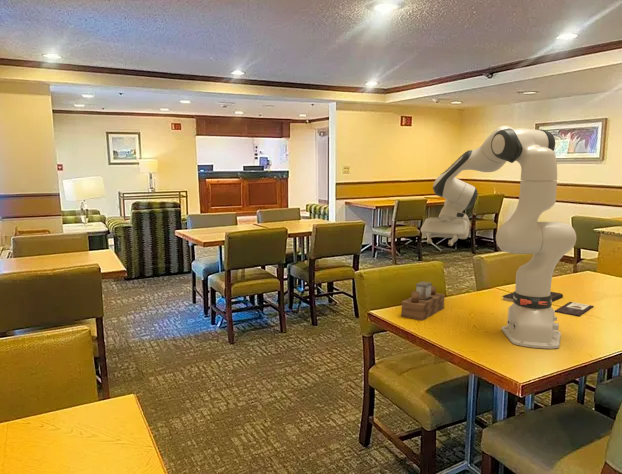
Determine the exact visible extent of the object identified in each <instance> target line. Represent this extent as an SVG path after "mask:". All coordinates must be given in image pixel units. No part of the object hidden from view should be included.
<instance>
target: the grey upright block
mask: <svg viewBox="0 0 622 474" xmlns="http://www.w3.org/2000/svg"><path fill="white" fill-rule="evenodd" d="M432 283H433V282H430V281H429V282H428V281H420V282H418V283H416V284H415V285H416V290H415V291H418V292H419V300H425V301H427V300H429V299H431V286H433V284H432Z"/></svg>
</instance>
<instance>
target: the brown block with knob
mask: <svg viewBox="0 0 622 474" xmlns="http://www.w3.org/2000/svg"><path fill="white" fill-rule="evenodd" d="M436 287H437V286H434V285H431V299H429V300H427V301H425V300H419V292H418V291H416V290H415V291H411V297H408V298H406V299H404V300H402V301H401V317H402V318H408V319H413V320H417V321H425V320H427V319H428V318H430V317H431V316H433V315H436V314H438V312H441V311H443V310H444V309H445V294H444V293H438V292H437V288H436Z"/></svg>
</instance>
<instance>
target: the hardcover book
mask: <svg viewBox="0 0 622 474" xmlns="http://www.w3.org/2000/svg"><path fill="white" fill-rule="evenodd" d="M550 294H551V295H552V303H553V302H556V301H559V300H561V299H563V298H564V295H563V293H561V292H555V291H551V292H550ZM513 295H514V291H512V292H510V293H508V294H504V295H502V296H501V297H502V300H503V301H507V302H510V303H514V301H513Z"/></svg>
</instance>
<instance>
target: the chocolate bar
mask: <svg viewBox="0 0 622 474" xmlns="http://www.w3.org/2000/svg"><path fill="white" fill-rule="evenodd" d="M594 307H595V306H594V305H591V304H587V303H586V304H585V303H580V302H575V301H569V302H567V303H566V304H564V305H562V306H560V307H558V308H557V309H554V310H555V313H558V314H563V315H568V316H574V317H578V318H579V317H581V316H582V315H585V314H586V313H587V312H589V311H590V310H591V309H593V308H594Z"/></svg>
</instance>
